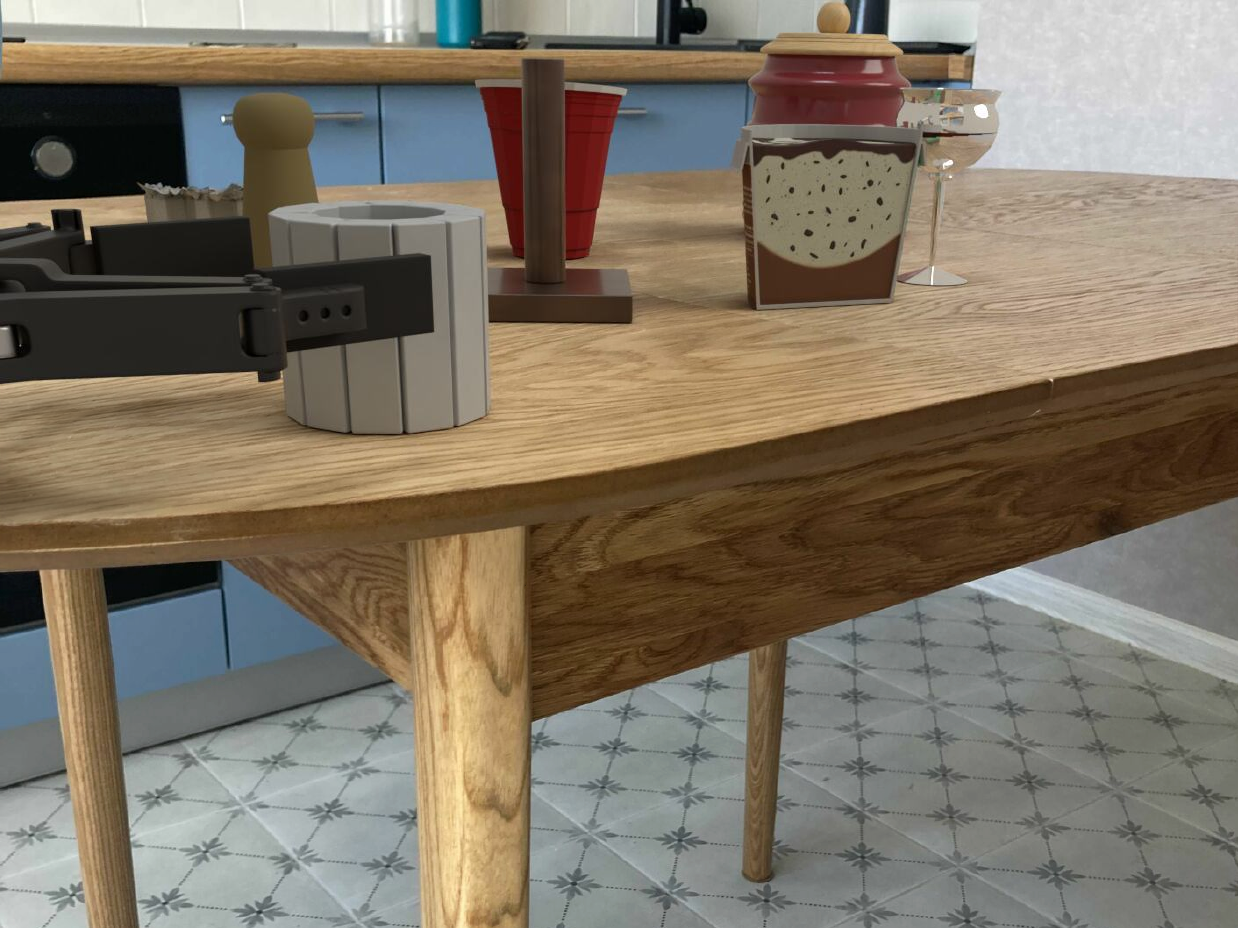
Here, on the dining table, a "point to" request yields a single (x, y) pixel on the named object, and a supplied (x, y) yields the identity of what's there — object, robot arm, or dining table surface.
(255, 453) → the dining table surface
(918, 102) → the wineglass
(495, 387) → the dining table surface
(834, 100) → the kitchen canister
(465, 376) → the plant pot
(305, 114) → the cork
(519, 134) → the plastic cup
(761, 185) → the food container
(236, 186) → the egg carton
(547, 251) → the stand
